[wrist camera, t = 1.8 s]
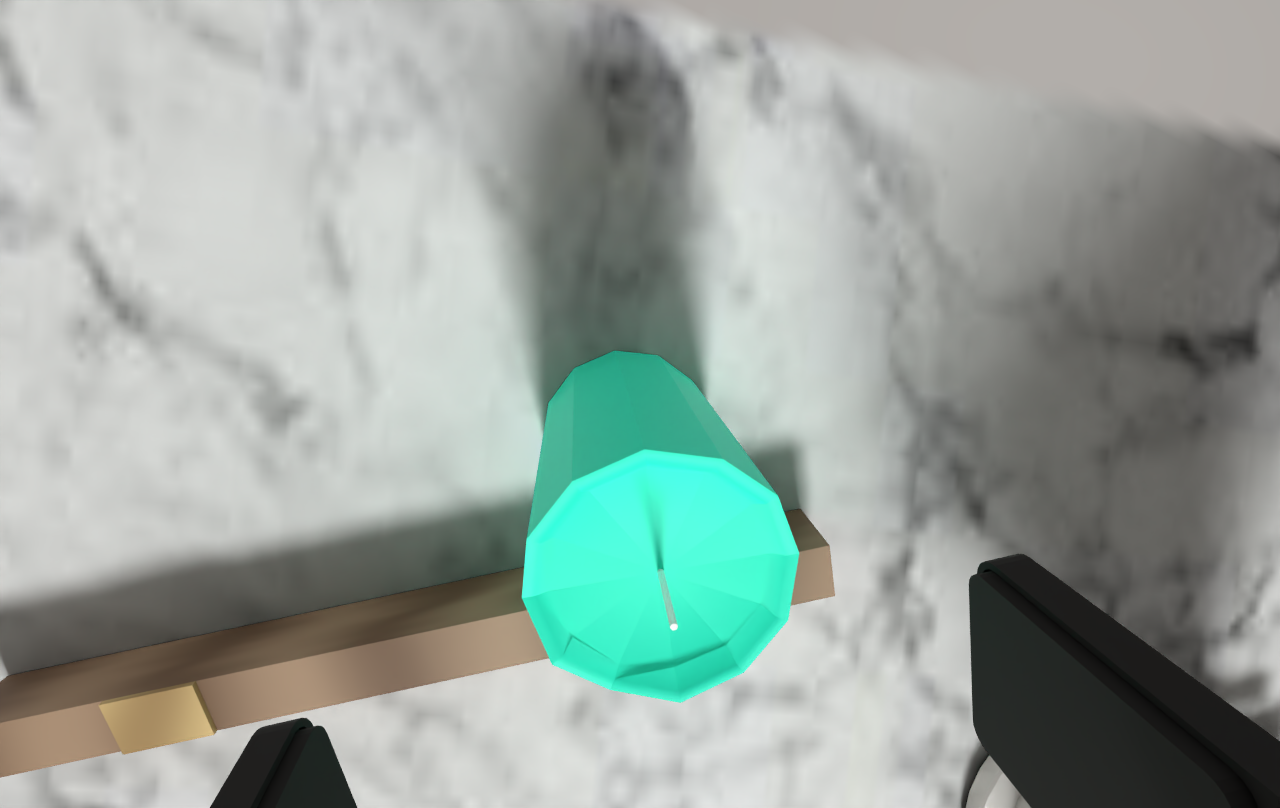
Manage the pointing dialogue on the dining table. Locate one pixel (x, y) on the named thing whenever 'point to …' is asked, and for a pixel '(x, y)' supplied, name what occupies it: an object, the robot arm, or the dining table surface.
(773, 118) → the dining table surface
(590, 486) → the candle
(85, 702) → the rail
